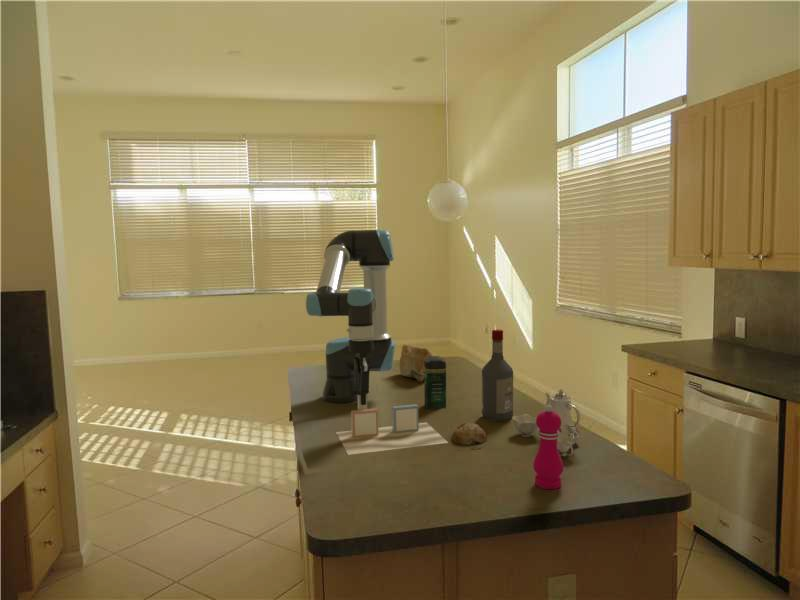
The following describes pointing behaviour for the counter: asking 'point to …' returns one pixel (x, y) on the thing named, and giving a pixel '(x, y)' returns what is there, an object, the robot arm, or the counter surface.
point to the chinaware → (568, 428)
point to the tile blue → (405, 418)
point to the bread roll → (469, 434)
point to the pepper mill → (548, 450)
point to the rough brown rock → (413, 361)
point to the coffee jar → (435, 382)
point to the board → (390, 440)
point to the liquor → (497, 383)
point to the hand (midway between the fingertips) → (362, 414)
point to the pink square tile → (364, 423)
